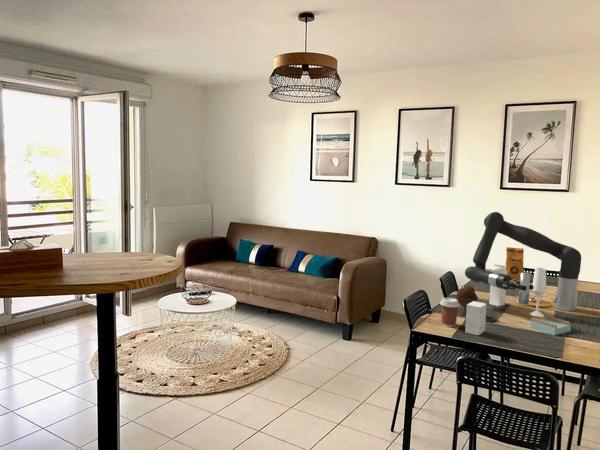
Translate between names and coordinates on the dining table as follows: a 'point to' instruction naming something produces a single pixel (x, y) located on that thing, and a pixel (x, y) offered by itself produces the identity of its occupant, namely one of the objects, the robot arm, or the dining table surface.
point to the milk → (497, 293)
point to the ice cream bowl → (466, 297)
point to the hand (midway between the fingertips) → (529, 288)
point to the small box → (475, 318)
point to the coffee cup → (449, 311)
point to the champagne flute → (539, 287)
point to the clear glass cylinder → (526, 282)
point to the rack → (551, 325)
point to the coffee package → (514, 262)
